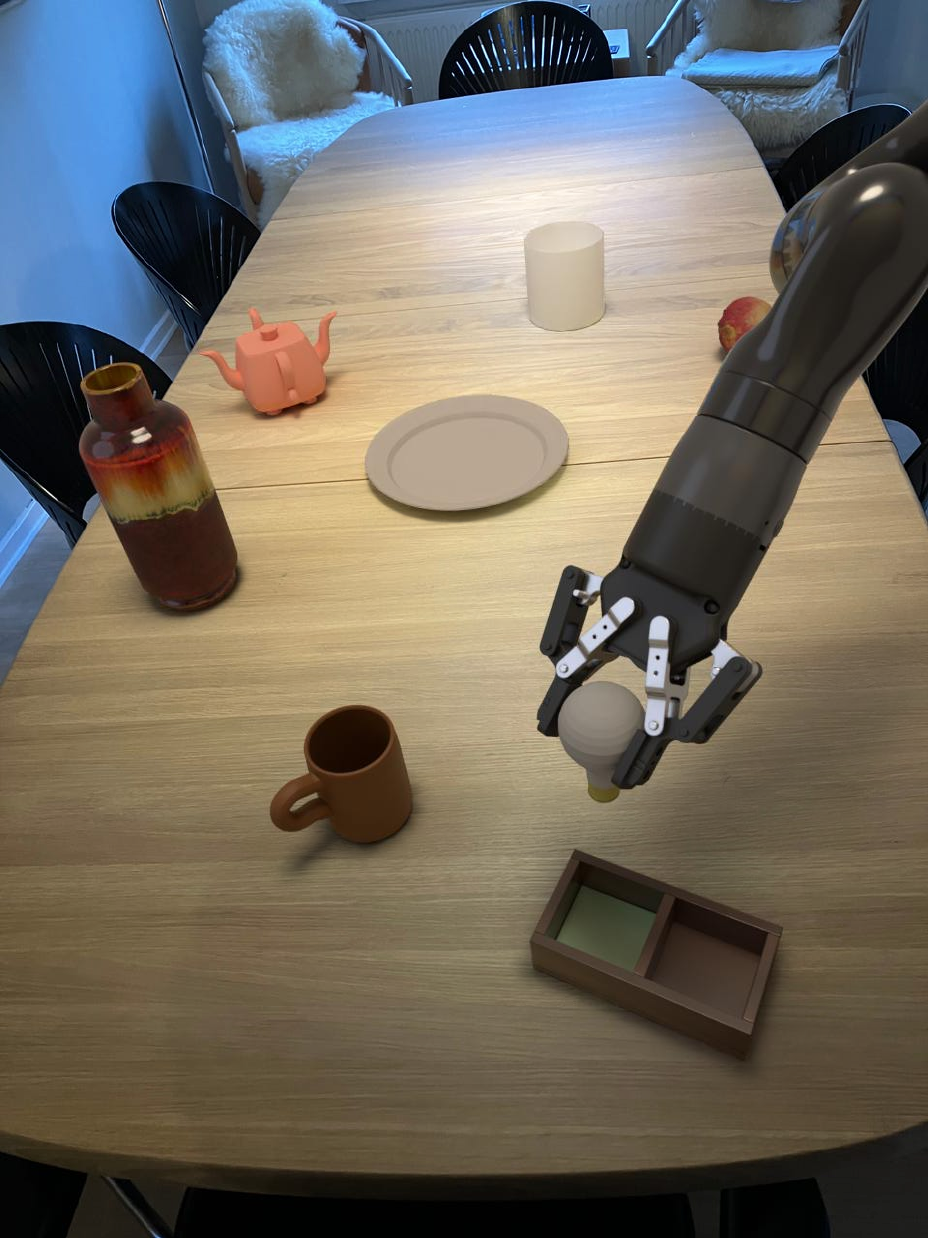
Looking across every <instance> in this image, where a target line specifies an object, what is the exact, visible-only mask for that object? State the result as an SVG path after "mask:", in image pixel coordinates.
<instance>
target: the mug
mask: <svg viewBox="0 0 928 1238" xmlns="http://www.w3.org/2000/svg"><path fill="white" fill-rule="evenodd" d="M303 754H304V758H305V762H306V767H307V771H308V773H306V774H303V775H301V776H299V777H296V778H293V779H291V780H290V781H288V782H286V783H285V784H284V785H283V786H282V787H281V788H280V789H279V790H278V791H277V792H276V794H275V795H274V796H273V798H272V800H271V803H270V805H269V816H270V820H271V822H272V824H273V825H274V826H275V827H276V828H277V829H279V830H281V831H283V832H286V833H294V832H300V831H303V830H305V829H307V828H309V827H310V826H312V825H313V824H315V823H316V822H318V821H322V820H324V819H325V820H327V822H328V824H329V825H330V827H331V828H332V830H333V831H334V832H335V833H336V834H337V835H339V836H340V837H342V838H343V839H346V840H348V841H352V842H355V843H373V842H377V841H380V840H383V839H385V838H388V837H390V836H391V835H393V834H394V833H396V832H397V831H398V830H399V829H400V828H401V827H402V826H403V825H404V824H405V822H406V821H407V820H408V818H409V815H410V813H411V810H412V807H413V792H412V786H411V782H410V778H409V774H408V769H407V765H406V761H405V758H404V754H403V750H402V745H401V742H400V739H399V735H398V733H397V731H396V729H395V725H394V723H393V721H392V720H391V719H390V717H389V716H388V715H387V714H386V713H385V712H383V711H382V710H380V709H378V708H376V707H373V706H370V705H365V704H349V705H348V704H347V705H344V706H339V707H337V708H335V709H334V708H333V709H332V710H330V711H328V712H327V713H324V714H323V715H321V716H320V717H319V718H318V719H317V720H316V721H314V723H313V724H311V727H310V728H309V730H308V731H307V733H306V735H305V739H304V742H303ZM314 794H317V797H315V798H312V799H310V800H308V801H306V802H305V803H303V804H301V806H299V807H298V808H296V809H294V810H291V809H292V808H293V806H294V805H295V804H296V803H297V802H298V801H300V800H302V799H304V798H307V797H309V796H311V795H314Z"/></svg>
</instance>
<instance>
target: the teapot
mask: <svg viewBox="0 0 928 1238" xmlns="http://www.w3.org/2000/svg"><path fill="white" fill-rule="evenodd" d="M247 312H248V315H249V317H250V321H251V324H252V329H253V330H251V331H248V332H245V333H243V334H241V335H239V336H238V337H236V340H235V352H234V353H235V354H234V357H235V359H234V361H235V369H233V368H232V367H230V366H229V365H228V363H227V361H226V359H225V358H224V356H223V355H222V353H220V352H219V351H216V350H214V349H213V350H212V349H207V350H201V351H199V352H198V355H201V356H204V357H206V358H209V359H211V360H212V362H213V363H214V364H215V365H216V367H217V368H218V370H219V372H220V375H221V377H222V378H223V380H224V382H225V383H226V384H227V385H228V386H229V387H231V389H234V390H236V391H240V392H242V393H243V396H244V397H245V398H246V399H247V401H248V402H249V403H250V404H251V406H252V407H254V409H255V410H256V411H258V412H262V413H264V412H265V413H266V414H267V415H268V416H276V415H279V414H281V413H282V412H283V409H285V408H289V407H292V406H295V405H298V404H301V403H302V404H304V405H310V404H314V403H315V402H317V401H318V398H317V396H319V395H321V394H322V393H323V392H324V391H325V389H326V384H327V383H326V382H327V378H326V373H325V370H324V367H323V366H325V364H326V363H327V362H328V359H329V357H330V353H331V342H330V325H331V323H332V321H333V319H335V317H336V315H337V314H338V311H335V310H334V311H332V312H330V313H328V314H326V315H324V316H323V317H322V318H321V320H320V322H319V325H318V338H317V342H316V343H315V344H314V345H313V344H312V343H311V341H310V340H309V338H308V336H307V335H306V334H305V332H304V331H303V330H302V328H301V327H300V326H299V325H298V324H297V323H296V322H294V321H292V320H291V321H288V320H287V321H283V322H282V321H281V322H278V323H264V321H263V318H262V317H261V315H260V313H259V311H258V310H257V309H256V308H254V307H249V308H248V311H247Z"/></svg>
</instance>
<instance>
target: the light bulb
mask: <svg viewBox="0 0 928 1238" xmlns="http://www.w3.org/2000/svg"><path fill="white" fill-rule="evenodd" d="M582 685H583V686H581V687H579V688H577V689H576V690H574V691H573V692H572V693H571V694H570V695H569V697H568V698H567V699H566V700H565V702H564V704H563V706H562V708H561V710H560V713H559V717H558V733H559V737H558V738H559V741H560V743H561V745H562V748H563V749H564V751H565V753H566V755H568V756H569V758H571V760H572V761H574V762H575V763H576V764H577V765H578V766H580V767H582V768H583V769H584V770H585V771H586V774H585V775H586V779H587V793H588V796H589V797H590V798H591V799H592V800H593V801H595V802H597V803H600V804H608V803H611V802H614V801H616V799H617V798H618V797H619V796H620V793H621V789H619V788H618V787H617V786H615V785H614V784H612V783H611V778H612V776H613V774H614V772H615V770H616V768H617V767H618V765H619V763H620V761H621V759H622V757H623V755H624V753H625V752H626V750H627V748H628V746H629V744H630V742H631V740H632V738H633V736H634V735H635V733H636V731H637V729H641V730H644V723H645V714H646V709H645V708H644V706H643V704H642V702H641V701H640V699H639V698H638V697H637V696H636V694H635V693H633V692H632V691H631V690H630V689H628V688H627V687H625V686H624V685H622V684H619V683H616V682H614V681H608V680H595V681H591V682H588V683H585V684H582Z"/></svg>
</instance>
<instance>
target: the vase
mask: <svg viewBox="0 0 928 1238" xmlns="http://www.w3.org/2000/svg"><path fill="white" fill-rule="evenodd" d="M80 389H81V392H82V395H83V396H84V399H85V401H86V403H87V407H88V409H89V411H90V413H91V417H92V418H91V419H90V420H89V421H88V423H87V424H86V426H85V427H84V429H83V431H82V432H81V435H80V437H79V442H78V452H79V455H80V458H81V460H82V463H83V465H84V467H85V469H86V472H87V474H88V476H89V478H90V481H91V483H92V484H93V487H94V489H95V491H96V493H97V495H98V498H99V499H100V502H101V503H102V506H103V508H104V510H105V512H106V515H107V516H108V520H109V521H110V524H111V525H112V528H113V529H114V532H115V533H116V536H117V538H118V540H119V542H120V544H121V546H122V549H123V551H124V552H125V555H126V557H127V559H128V561H129V564H130V565H131V567H132V569H133V572H134V573H135V576H136V577H137V579H138V581H139V583H140V585H141V586H142V589H143V590H144V591H145V592H146V593H148V594H149V595H150V596H152V597H155V598H156V599H157V601H158V603H159V604H160V605H161V606H162V607H164V608H165V609H167V610H170V611H172V612H177V613H190V612H196V611H201V610H203V609H207V608H208V607H211V606H213V605H215V604H217V603H218V602H220V601H222V600H223V599H224V598H225V597H227V596H228V595H229V593H231V591H232V589H233V588H234V586H235V584H236V582H237V581H236V580H237V573H236V570H235V569H236V566H237V562H238V551H237V548H236V544H235V541H234V538H233V536H232V533H231V529H230V527H229V524H228V522H227V518H226V516H225V513H224V510H223V508H222V505H221V501H220V499H219V496H218V493H217V490H216V488H215V485H214V482H213V479H212V476H211V473H210V471H209V468H208V466H207V462H206V460H205V457H204V454H203V451H202V448H201V446H200V443H199V441H198V437H197V435H196V433H195V430H194V427H193V425H192V422H191V420H190V418H189V416H188V414H187V413H186V412H185V411H184V410H183V409H182V408H180V407H179V406H177V405H176V404H175V403H171V402H169V401H166V400H164V399H160V398H154V396H153V393H152V391H151V388H150V386H149V383H148V380H147V379H146V376H145V374H144V371H143V370H142V368H141V366H140V365H139V364H136V363H133V362H116V363H111V364H107V365H104V366H101V367H99V368H96V369H94V370H92V371H91V372H89V373H88V374H87V375H85V376H84V377H83V378H82V379H81V382H80Z"/></svg>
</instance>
